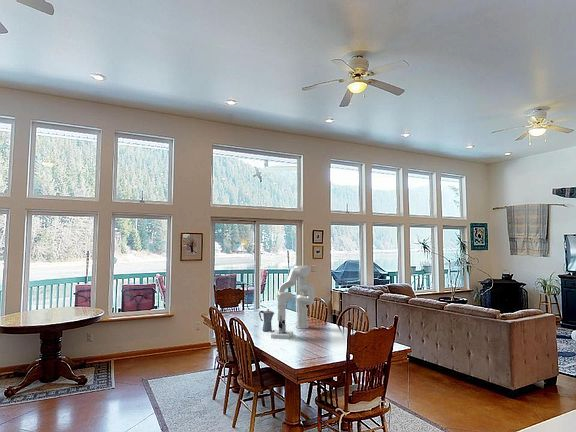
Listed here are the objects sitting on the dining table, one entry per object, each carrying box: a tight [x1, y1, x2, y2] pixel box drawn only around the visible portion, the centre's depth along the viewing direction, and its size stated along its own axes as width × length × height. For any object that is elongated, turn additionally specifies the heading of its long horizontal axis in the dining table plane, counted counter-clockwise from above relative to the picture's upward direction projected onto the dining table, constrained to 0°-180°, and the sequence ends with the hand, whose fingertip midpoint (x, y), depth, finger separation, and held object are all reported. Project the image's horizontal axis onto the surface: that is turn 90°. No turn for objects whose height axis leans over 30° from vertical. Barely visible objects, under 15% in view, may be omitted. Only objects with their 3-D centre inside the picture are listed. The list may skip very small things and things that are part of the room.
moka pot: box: [258, 308, 275, 332], centre depth 356 cm, size 10×15×20 cm, turn 78°
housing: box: [270, 329, 294, 340], centre depth 333 cm, size 16×16×3 cm
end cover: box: [278, 323, 287, 334], centre depth 333 cm, size 6×6×11 cm
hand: (281, 326), depth 333 cm, fingers open, 9 cm apart
